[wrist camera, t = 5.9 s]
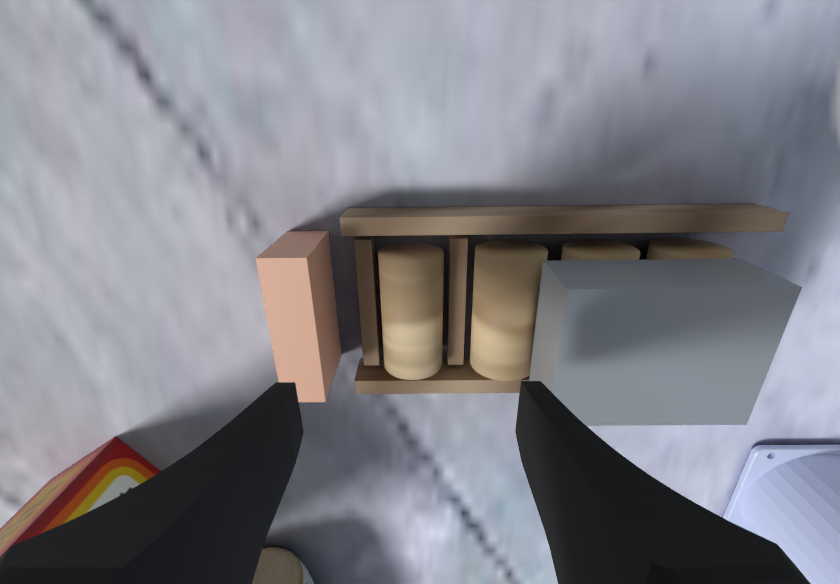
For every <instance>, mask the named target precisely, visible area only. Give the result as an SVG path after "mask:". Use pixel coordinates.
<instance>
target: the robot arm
mask: <svg viewBox="0 0 840 584" xmlns="http://www.w3.org/2000/svg"><path fill="white" fill-rule="evenodd" d="M302 436H303V427H302V421H301V415H300V409H299V403H298V396H297V390H296V384H295V382H276V383H275V384H274V385H273V386H271V387H270V388H269V389H268V390H267V391H265V392H264V393H263V394H262V395H261V396H260V397H259V398H257V399H256V400H255V401H254V402H253V403H252V404H251V405H249V406H248V407H247V408H246V409H245V410H244V411H242V412H241V413H240V414H239V415H238V416H237V417H235V418H234V419H233V420H232V421H231V422H229V423H228V424H227V425H226V426H224V427H223V428H222V429H221V430H219V431H218V432H217V433H215V434H214V435H213V436H212V437H210V438H209V439H208V440H206V441H205V442H204V443H203V444H201V445H200V446H199V447H197V448H196V449H194V450H193V451H192V452H190V453H189V454H187V455H186V456H184V457H183V458H181V459H180V460H178V461H177V462H175V463H174V464H172V465H171V466H169V467H168V468H166V469H165V470H163V471H162V472H160V473H158V474H157V475H155V476H153V477H151V478H150V479H148V480H146V481H145V482H143V483H141V484H139V485H138V486H136V487H134V488H133V489H131V490H129V491H128V492H126V493H124V494H122V495H120V496H118V497H117V498H115V499H113V500H111V501H109V502H107V503H105V504H103V505H101V506H99V507H97V508H95V509H93V510H91V511H89V512H87V513H85V514H83V515H81V516H79V517H77V518H75V519H73V520H70V521H68V522H66V523H64V524H62V525H59V526H57V527H55V528H53V529H50V530H48V531H46V532H43V533H41V534H39V535H37V536H34V537H32V538H30V539H28V540H25V541H23V542H20V543H18V544H16V545H13V546H12V547H11V548H10V549H9V550H8V551H7V552H6V553H5V554H4V555H3V556H2V557H1V558H0V584H252V582H253V578H254V575H255V572H256V568H257V565H258V561H259V558H260V555H261V551H262V548H263V545H264V542H265V539H266V536H267V534H268V531H269V528H270V526H271V523H272V521H273V518H274V516H275V513H276V511H277V508H278V506H279V503H280V501H281V499H282V496H283V494H284V491H285V489H286V486H287V483H288V481H289V478H290V476H291V473H292V471H293V468H294V466H295V463H296V459H297V456H298V452H299V448H300V444H301V440H302ZM516 436H517V441H518V446H519V451H520V456H521V460H522V464H523V467H524V470H525V473H526V476H527V479H528V482H529V485H530V488H531V491H532V494H533V497H534V500H535V503H536V506H537V509H538V512H539V515H540V518H541V521H542V524H543V527H544V529H545V533H546V536H547V540H548V543H549V546H550V550H551V555H552V559H553V563H554V567H555V571H556V576H557V580H558V584H840V445H759V446H756V447H754V448H753V449H752V450H751V452H750V454H749V457H748V459H747V461H746V464H745V466H744V468H743V471H742V473H741V475H740V478H739V480H738V483H737V485H736V487H735V490H734V492H733V494H732V497H731V499H730V501H729V504H728V506H727V509H726V511H725V513H724V516H723V518H722V517H720V516H718V515H716V514H714V513H712V512H711V511H709V510H707V509H705V508H703V507H701V506H699V505H698V504H696V503H694V502H692V501H691V500H689V499H687V498H685V497H684V496H682V495H680V494H679V493H677V492H675V491H674V490H672V489H670V488H669V487H667V486H666V485H664V484H663V483H661V482H659V481H658V480H656V479H655V478H653V477H652V476H650V475H649V474H647V473H646V472H644V471H643V470H641V469H640V468H638V467H637V466H636V465H634V464H633V463H632V462H630V461H629V460H627V459H626V458H625V457H623V456H622V455H621V454H619V453H618V452H617V451H615V450H614V449H613V448H612V447H610V446H609V445H608V444H607V443H606V442H604V441H603V440H602V439H601V438H600V437H598V436H597V435H596V434H595V433H594V432H593V431H591V430H590V429H589V428H588V427H587V426H586V425H585V424H584V423H582V422H581V421H580V420H579V419H578V418H577V417H576V416H575V415H574V414H573V413H572V412H571V411H570V410H569V409H568V408H567V407H566V406H565V405H564V404H563V403H562V402H561V401H560V400H559V399H558V398H557V397H556V396H555V395H554V394H553V393H552V392H551V391H550V390H549V389H548V388H547V387H546V386H545V385H544V384H543V383H542V382H541V381H521V386H520V395H519V404H518V413H517V423H516Z"/></svg>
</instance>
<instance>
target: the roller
mask: <svg viewBox="0 0 840 584" xmlns="http://www.w3.org/2000/svg"><path fill="white" fill-rule="evenodd" d="M378 262H379V280H380V298H381V315H382V333H383V351H384V366H385V369H386V370H387V372H388V373H390V374H391V375H393V376H395V377H397V378H400V379H406V380H419V379H424V378H428V377H430V376H432V375H434V374H436V373H437V372H438V371H439V370H440V369H441V367H442V341H443V263H444V251H443V249H442V248H440V247H438V246H436V245H432V244H427V243H398V244H392V245H389V246H386V247H383V248H382V249H380V250H379V251H378Z"/></svg>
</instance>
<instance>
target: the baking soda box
mask: <svg viewBox="0 0 840 584" xmlns="http://www.w3.org/2000/svg"><path fill="white" fill-rule="evenodd" d="M160 472H161V471H159V470H158V469H157V468H156V467H154V466H153V465H152V464H151V463H149V462H148V461H147V460H145V459H144V458H143V457H142V456H140V455H139V454H138V453H136V452H135V451H134V450H133V449H131V448H130V447H129V446H128V445H126V444H125V443H124V442H122V441H121V440H120V439H119V438H117V437H116V436H115V437H114V438H112V439H111V440H109V441H108V442H106V443H105V444H103V445H102V446H100V447H99V448H97V449H96V450H94V451H93V452H91V453H90V454H88V455H87V456H85V457H84V458H82V459H81V460H79V461H78V462H76V463H75V464H73V465H72V466H70V467H69V468H67V469H66V470H64V471H63V472H61V473H60V474H58V475H57V476H55V477H54V478H52V479H51V480H50V481H49V482H48V483H47V484H45V485H44V486H43V487H42V488H41V489H40V490H39V491H38V492H37V493H36V494H35V495H34V496H33V497H32V498H31V499H30V500H29V501H28V502H27V503H26V504H25V505H24V506H23V507H22V508H21V509H20V510H19V511H18V512H17V513H16V514H15V515H14V516H13V517H12V518H11V519H10V520H9V521H8V522H7V523H6V524H5V525H4V526H3V527H1V528H0V558H1V557H2V556H3V555H4V554H5V553H6V552H7V551H8V550H9V549H10V548H11V547H12V546H13V545H16V544H18V543H20V542H23V541H25V540H28V539H30V538H32V537H34V536H37V535H39V534H41V533H43V532H46V531H48V530H50V529H53V528H55V527H57V526H59V525H62V524H64V523H66V522H68V521H70V520H73V519H75V518H77V517H79V516H81V515H83V514H85V513H87V512H89V511H91V510H93V509H95V508H97V507H99V506H101V505H103V504H105V503H107V502H109V501H111V500H113V499H115V498H117V497H118V496H120V495H122V494H124V493H126V492H128V491H129V490H131V489H133V488H134V487H136V486H138V485H139V484H141V483H143V482H145V481H146V480H148V479H150V478H151V477H153V476H155V475H157V474H158V473H160Z"/></svg>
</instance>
